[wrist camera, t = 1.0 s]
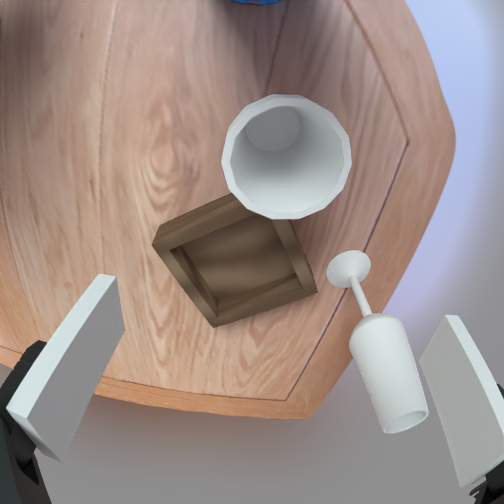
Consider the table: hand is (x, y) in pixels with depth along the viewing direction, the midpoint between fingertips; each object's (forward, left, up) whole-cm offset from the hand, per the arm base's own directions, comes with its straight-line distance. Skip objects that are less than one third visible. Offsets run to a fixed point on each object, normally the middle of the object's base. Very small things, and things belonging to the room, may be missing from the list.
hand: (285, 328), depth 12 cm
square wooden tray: (+12, -8, -27) cm, 30 cm away
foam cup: (-1, +2, -27) cm, 27 cm away
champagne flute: (+22, +5, -27) cm, 35 cm away
